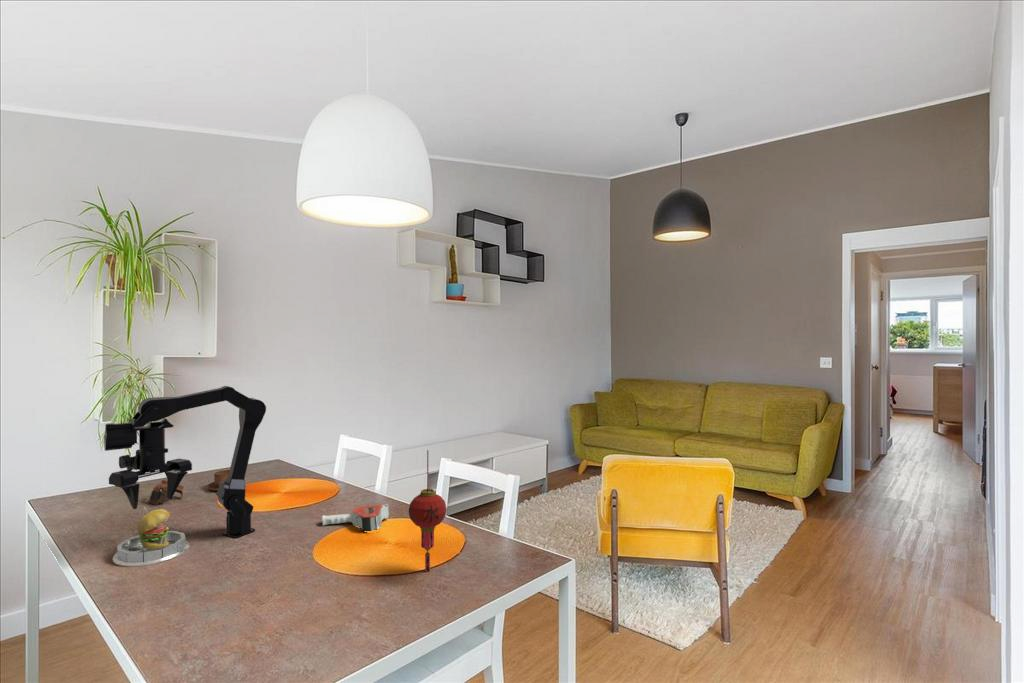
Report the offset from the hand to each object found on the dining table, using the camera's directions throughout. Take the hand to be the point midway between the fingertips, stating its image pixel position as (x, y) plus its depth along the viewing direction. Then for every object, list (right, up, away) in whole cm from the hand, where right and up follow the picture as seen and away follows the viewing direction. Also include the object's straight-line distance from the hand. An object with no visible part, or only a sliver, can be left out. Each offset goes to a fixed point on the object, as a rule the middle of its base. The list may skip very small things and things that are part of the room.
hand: (152, 503), depth 146 cm
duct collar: (0, -13, -1) cm, 13 cm away
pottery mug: (-24, -12, +43) cm, 51 cm away
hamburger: (0, -13, 0) cm, 13 cm away
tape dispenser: (+49, -13, +22) cm, 56 cm away
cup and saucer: (-12, -12, +59) cm, 62 cm away
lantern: (+75, -14, -11) cm, 77 cm away
